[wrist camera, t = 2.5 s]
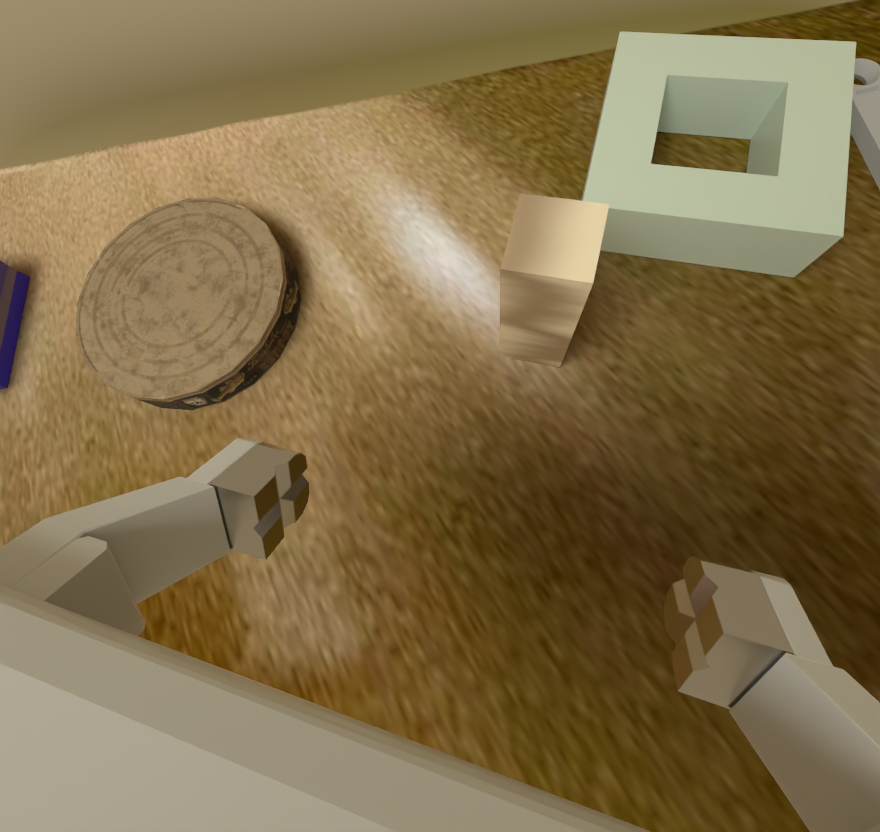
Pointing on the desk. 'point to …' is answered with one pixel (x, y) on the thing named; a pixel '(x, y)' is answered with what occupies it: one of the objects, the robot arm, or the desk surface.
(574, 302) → the wooden block
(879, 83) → the adjustable wrench
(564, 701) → the desk surface
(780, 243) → the pale green square frame
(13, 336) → the stapler
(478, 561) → the desk surface
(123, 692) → the robot arm
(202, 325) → the wood slice
